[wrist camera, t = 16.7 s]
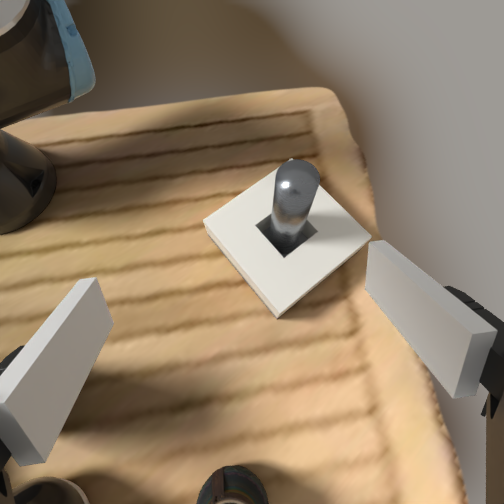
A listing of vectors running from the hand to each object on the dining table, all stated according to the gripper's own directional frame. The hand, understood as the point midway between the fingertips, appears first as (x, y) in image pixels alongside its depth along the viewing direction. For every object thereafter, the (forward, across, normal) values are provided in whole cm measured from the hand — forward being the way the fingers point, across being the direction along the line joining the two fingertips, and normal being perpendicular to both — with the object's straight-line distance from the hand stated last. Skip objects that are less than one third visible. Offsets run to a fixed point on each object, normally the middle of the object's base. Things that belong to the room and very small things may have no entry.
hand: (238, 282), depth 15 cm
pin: (+24, +6, -9) cm, 27 cm away
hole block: (+25, +6, -10) cm, 28 cm away
